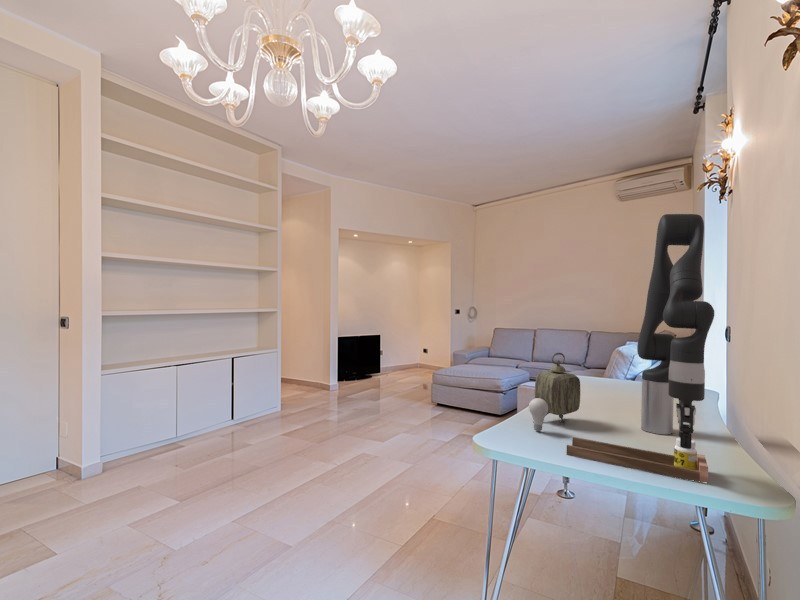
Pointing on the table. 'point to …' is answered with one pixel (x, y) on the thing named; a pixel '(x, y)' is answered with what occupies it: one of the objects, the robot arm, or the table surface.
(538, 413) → the lightbulb
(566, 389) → the tabletop clock
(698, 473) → the guide track
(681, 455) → the supplement bottle
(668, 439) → the table surface
